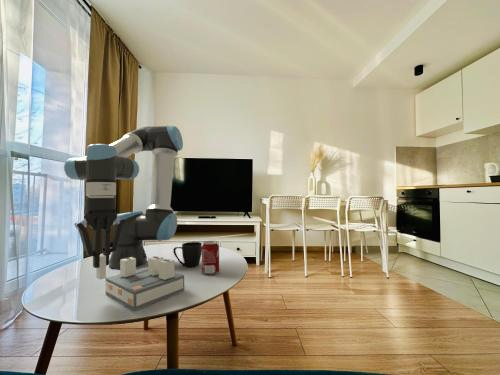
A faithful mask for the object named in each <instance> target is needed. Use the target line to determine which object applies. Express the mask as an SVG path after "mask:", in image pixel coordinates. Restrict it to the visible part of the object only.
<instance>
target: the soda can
mask: <svg viewBox="0 0 500 375" xmlns="http://www.w3.org/2000/svg"><path fill="white" fill-rule="evenodd" d="M219 272H220V245H219V244H218V241H216V240H205V241H203V242H202V252H201V273H202V274H204V275H205V276H214V275H216V274H218V273H219Z"/></svg>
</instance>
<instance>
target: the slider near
mask: <svg viewBox="0 0 500 375" xmlns="http://www.w3.org/2000/svg"><path fill="white" fill-rule="evenodd" d="M174 272H175V259H172V258H167V259H164V258H163V260H162V261H159V278H161V279H164V280H165V279H168V278H171V277H174Z"/></svg>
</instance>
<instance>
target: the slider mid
mask: <svg viewBox="0 0 500 375" xmlns="http://www.w3.org/2000/svg"><path fill="white" fill-rule="evenodd" d="M162 260H164V257H163V256H159V255H156V256H152V257H147V263H148V264H147V265H148V266H147V267H148V274H150V275H153V276H154V275H158V274H159V261H162Z"/></svg>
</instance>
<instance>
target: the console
mask: <svg viewBox="0 0 500 375" xmlns="http://www.w3.org/2000/svg"><path fill="white" fill-rule="evenodd" d="M182 292H185V274H182V273H179V272H175V271H174V277H171V278H168V279H165V280H164V279H161V278H159V274H158V275H154V276H153V275H150V274H148V266H146V267H141V268H139V269H136V274H135V275H131V276H128V277H123V276H120V273H119V274H116V275H112V276H108V277H106V278H105V296H108V297H110V298H112V299H113V300H115V301H117V302H119V304H122V305H124V306H125V307H127V308H128V309H130V310H132V311H138V310H141V309H143V308H145V307H148V306H150V305H153V304H155V303H157V302H161V301H163V300H166V299H169V298H170V297H173V296H175V295H177V294H180V293H182Z"/></svg>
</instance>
